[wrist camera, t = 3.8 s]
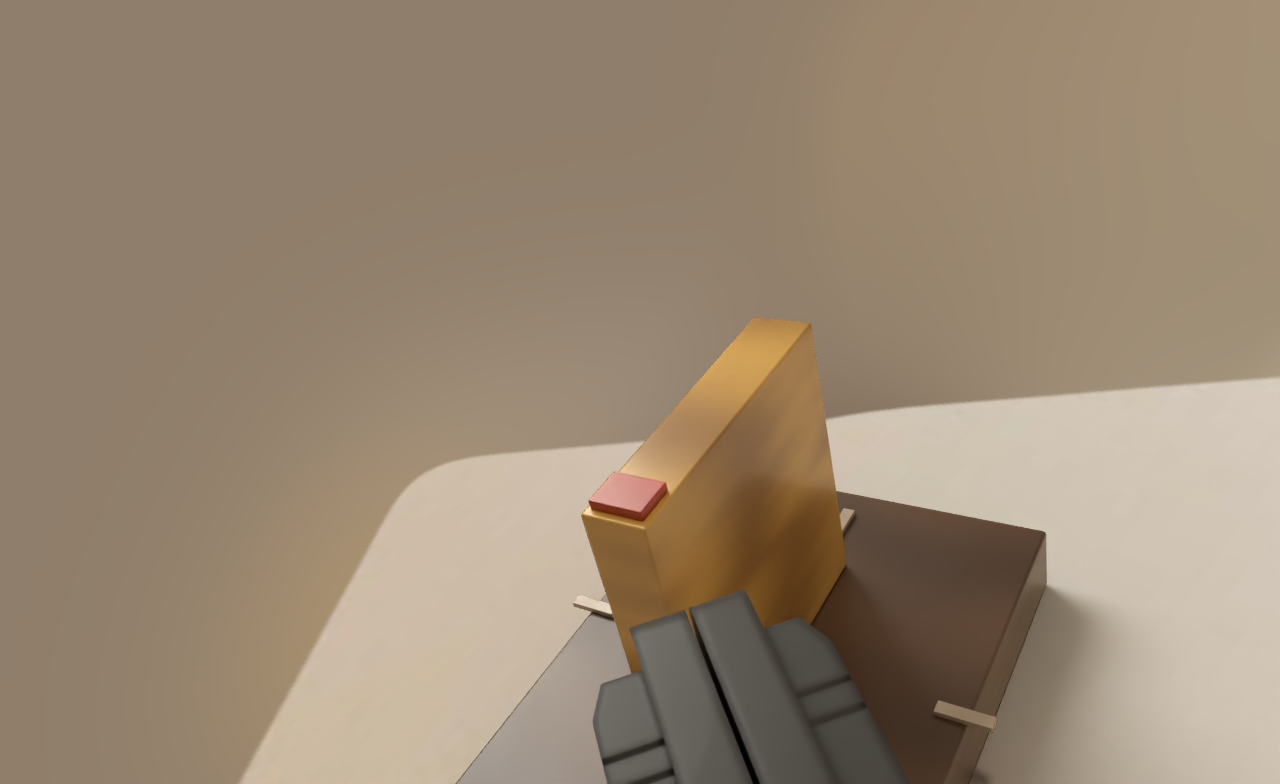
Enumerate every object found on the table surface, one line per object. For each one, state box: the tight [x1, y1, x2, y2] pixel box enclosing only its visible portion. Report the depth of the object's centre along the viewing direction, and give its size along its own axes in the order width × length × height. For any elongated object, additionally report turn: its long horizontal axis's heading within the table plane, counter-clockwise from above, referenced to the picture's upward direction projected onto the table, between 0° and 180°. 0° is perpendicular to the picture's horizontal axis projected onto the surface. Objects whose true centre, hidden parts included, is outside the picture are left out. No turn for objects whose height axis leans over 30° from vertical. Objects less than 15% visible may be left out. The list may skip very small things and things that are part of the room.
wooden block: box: [581, 318, 847, 674], centre depth 26 cm, size 8×2×8 cm, turn 148°
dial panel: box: [456, 491, 1047, 784], centre depth 28 cm, size 14×12×2 cm
